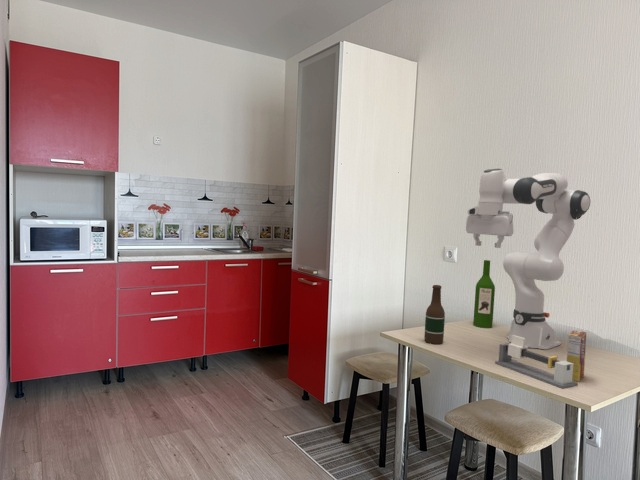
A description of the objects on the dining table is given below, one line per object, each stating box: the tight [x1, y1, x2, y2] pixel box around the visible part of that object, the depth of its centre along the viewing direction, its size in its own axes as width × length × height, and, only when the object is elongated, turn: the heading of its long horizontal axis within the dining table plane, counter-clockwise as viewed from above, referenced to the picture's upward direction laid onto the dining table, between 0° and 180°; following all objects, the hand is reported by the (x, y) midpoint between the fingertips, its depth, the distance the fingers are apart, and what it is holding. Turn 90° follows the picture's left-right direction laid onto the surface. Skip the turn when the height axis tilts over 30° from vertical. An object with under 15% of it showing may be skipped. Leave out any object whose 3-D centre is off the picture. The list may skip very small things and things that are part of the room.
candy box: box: [566, 330, 587, 383], centre depth 155 cm, size 9×4×15 cm, turn 140°
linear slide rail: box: [494, 342, 579, 390], centre depth 158 cm, size 8×26×8 cm, turn 29°
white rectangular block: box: [508, 335, 529, 360], centre depth 163 cm, size 4×5×7 cm
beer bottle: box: [423, 284, 446, 345], centre depth 192 cm, size 8×8×24 cm
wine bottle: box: [472, 259, 496, 329], centre depth 225 cm, size 9×9×32 cm
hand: (487, 246), depth 177 cm, fingers open, 8 cm apart
